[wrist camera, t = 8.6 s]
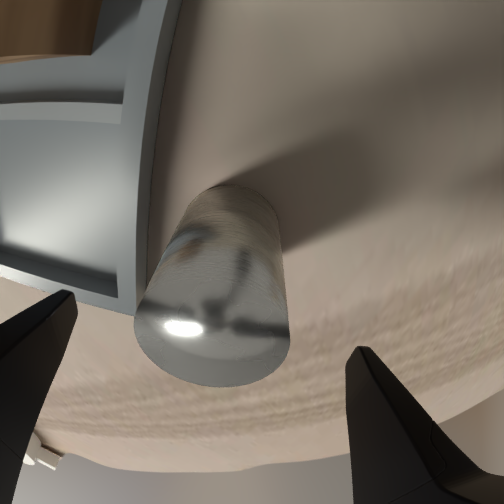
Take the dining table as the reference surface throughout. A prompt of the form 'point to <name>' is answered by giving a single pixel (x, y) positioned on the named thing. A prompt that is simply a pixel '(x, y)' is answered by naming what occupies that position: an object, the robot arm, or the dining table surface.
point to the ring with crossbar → (39, 454)
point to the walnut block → (47, 29)
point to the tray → (85, 158)
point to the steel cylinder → (218, 293)
